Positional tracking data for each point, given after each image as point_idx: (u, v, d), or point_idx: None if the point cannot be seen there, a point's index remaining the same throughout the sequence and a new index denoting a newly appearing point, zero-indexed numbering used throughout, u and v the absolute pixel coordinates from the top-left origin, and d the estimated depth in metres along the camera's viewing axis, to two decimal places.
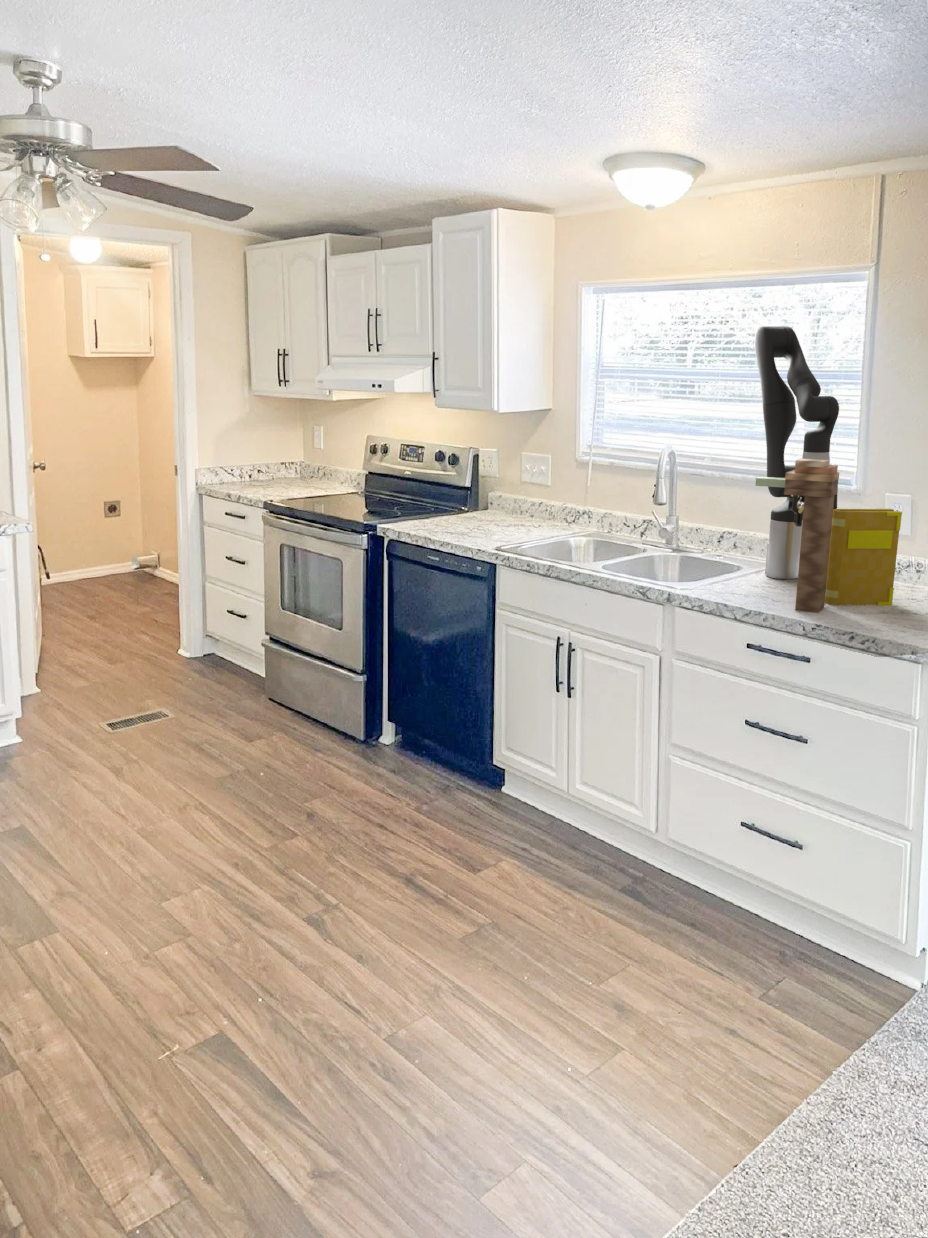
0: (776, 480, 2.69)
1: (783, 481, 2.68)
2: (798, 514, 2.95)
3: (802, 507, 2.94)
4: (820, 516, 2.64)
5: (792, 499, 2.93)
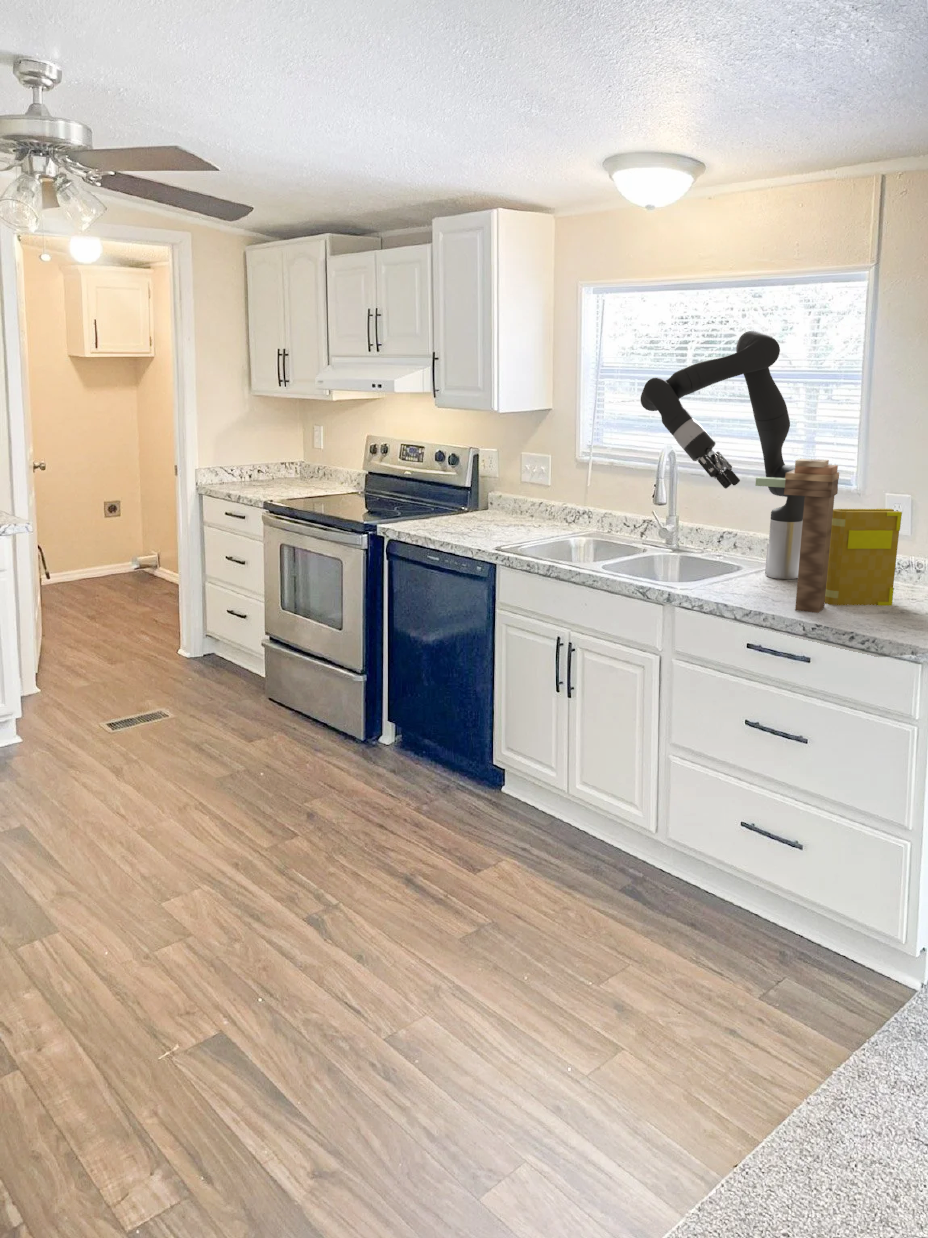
0: (776, 480, 2.69)
1: (783, 481, 2.68)
2: None
3: None
4: (820, 516, 2.64)
5: None
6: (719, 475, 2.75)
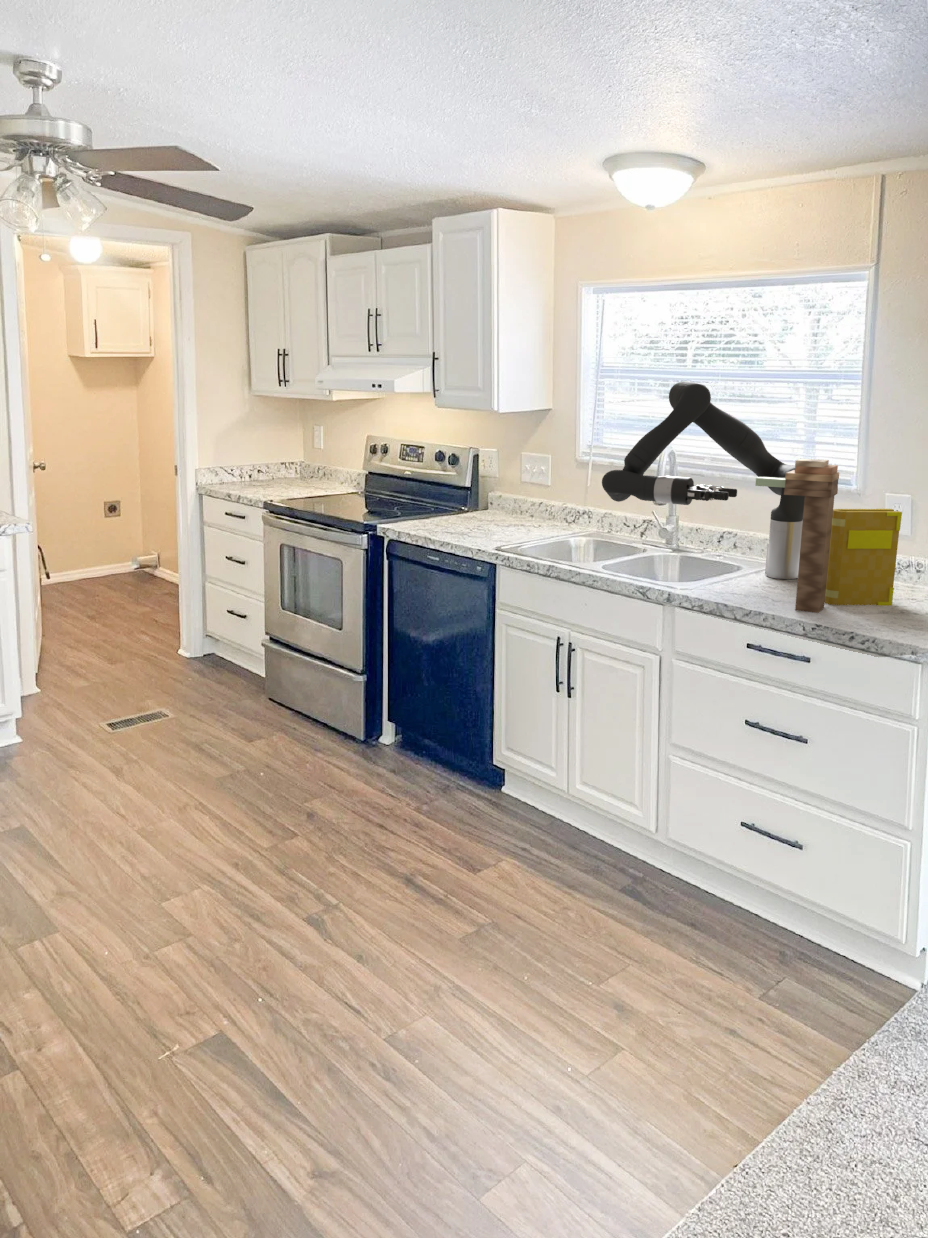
0: (776, 480, 2.69)
1: (783, 481, 2.68)
2: None
3: None
4: (820, 516, 2.64)
5: None
6: (713, 494, 2.75)
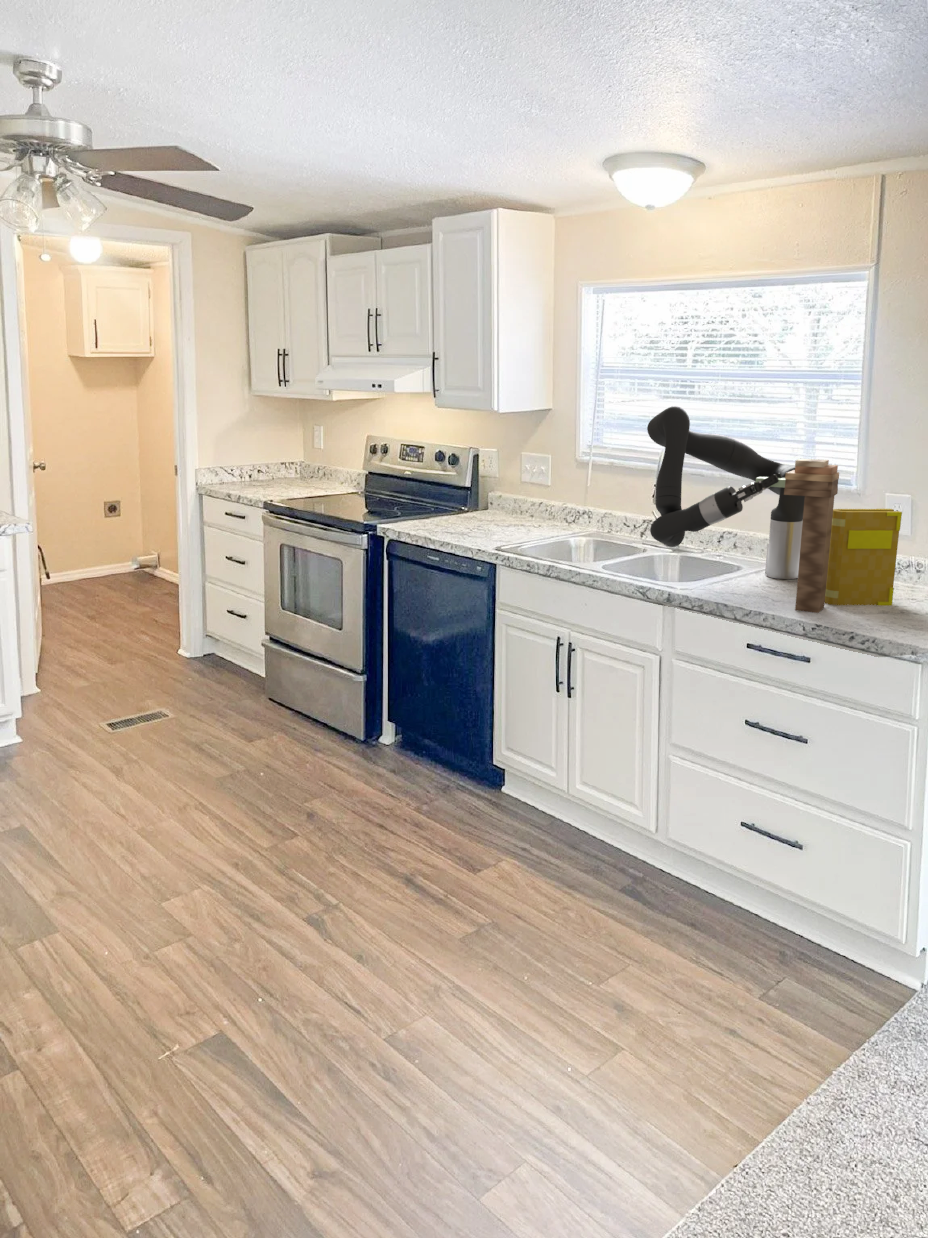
0: None
1: (783, 481, 2.68)
2: None
3: (764, 489, 2.75)
4: (820, 516, 2.64)
5: None
6: (762, 483, 2.69)
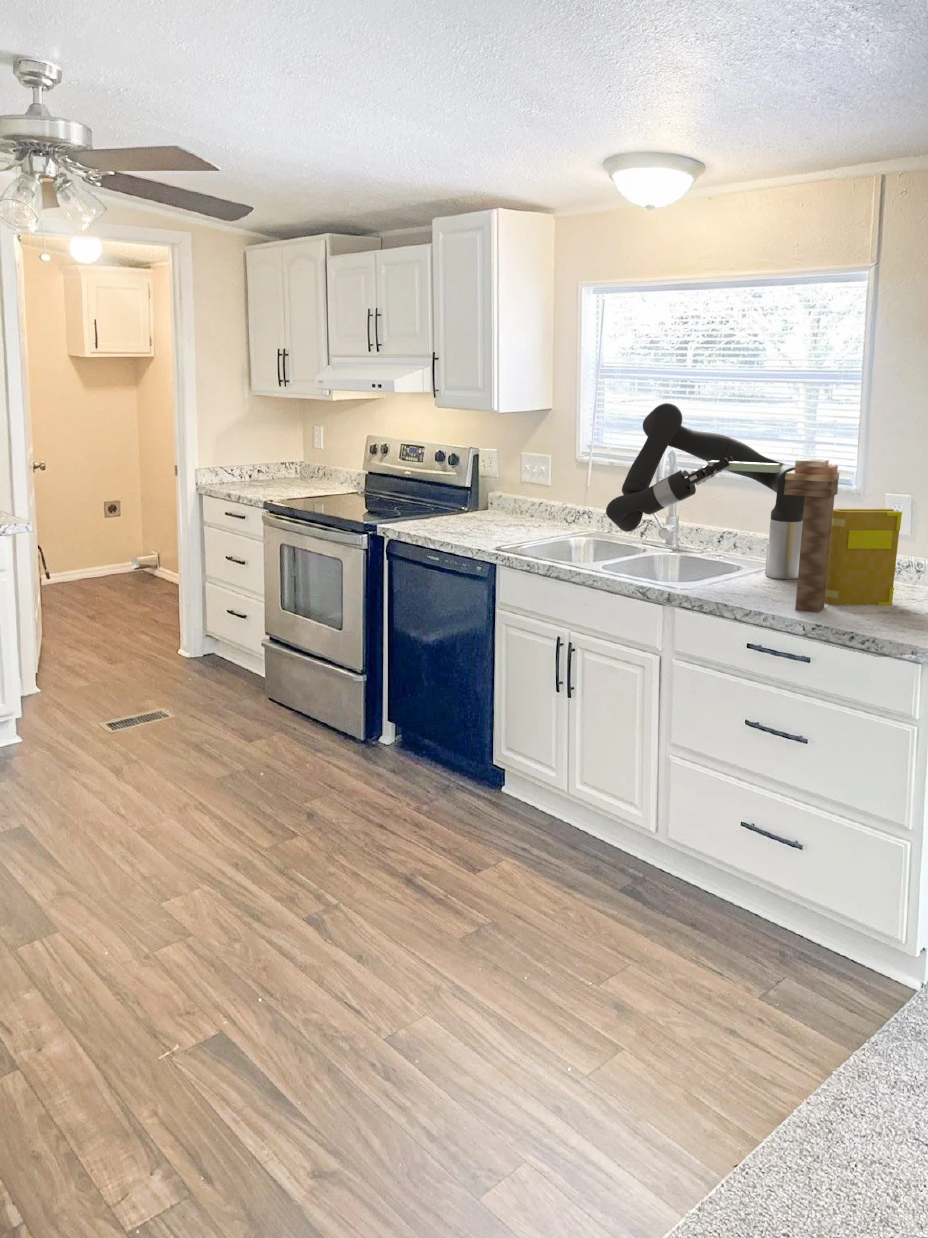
0: None
1: (734, 464, 2.73)
2: None
3: (716, 473, 2.80)
4: (820, 516, 2.64)
5: None
6: (713, 466, 2.74)
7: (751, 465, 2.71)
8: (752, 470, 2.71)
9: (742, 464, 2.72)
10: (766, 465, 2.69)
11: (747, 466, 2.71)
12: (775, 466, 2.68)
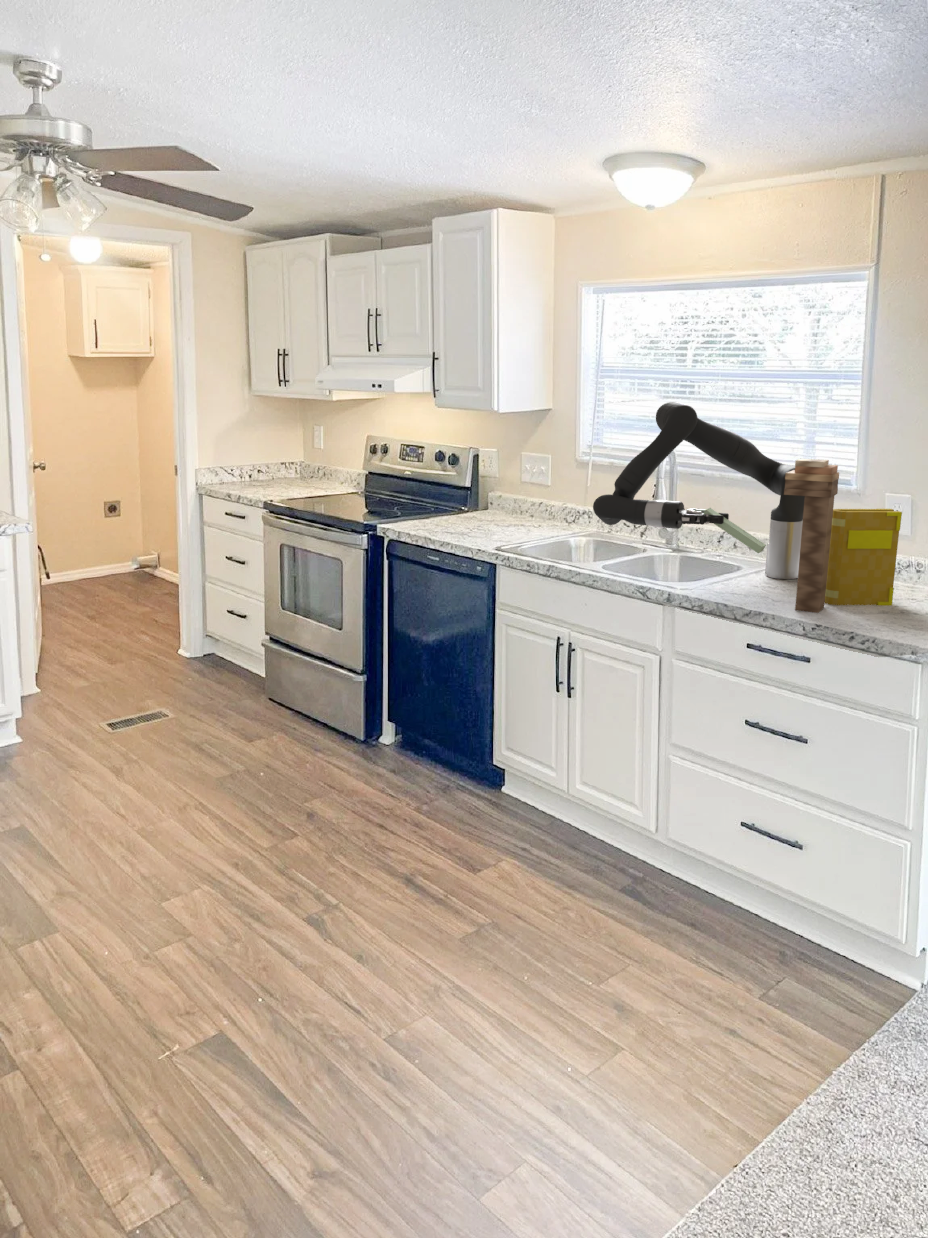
0: None
1: (727, 525, 2.77)
2: None
3: None
4: (820, 516, 2.64)
5: None
6: (708, 518, 2.78)
7: (741, 535, 2.76)
8: (739, 540, 2.76)
9: (734, 529, 2.77)
10: (753, 542, 2.75)
11: (737, 533, 2.76)
12: (760, 548, 2.74)
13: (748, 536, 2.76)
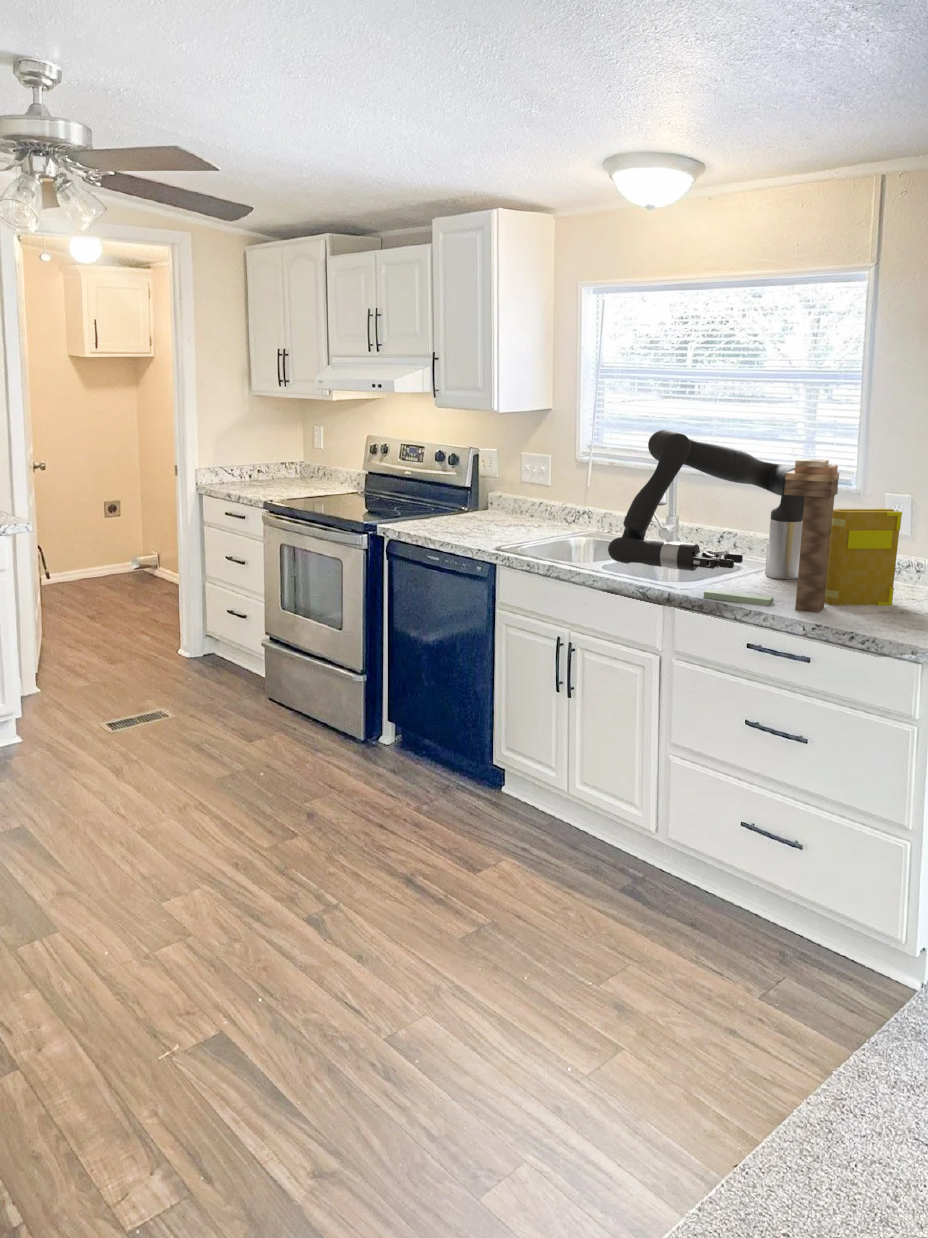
0: (722, 595, 2.83)
1: (729, 596, 2.82)
2: None
3: None
4: (820, 516, 2.64)
5: None
6: (718, 562, 2.78)
7: (745, 598, 2.80)
8: None
9: (737, 597, 2.81)
10: (759, 599, 2.78)
11: (741, 599, 2.81)
12: (768, 601, 2.77)
13: (753, 597, 2.80)
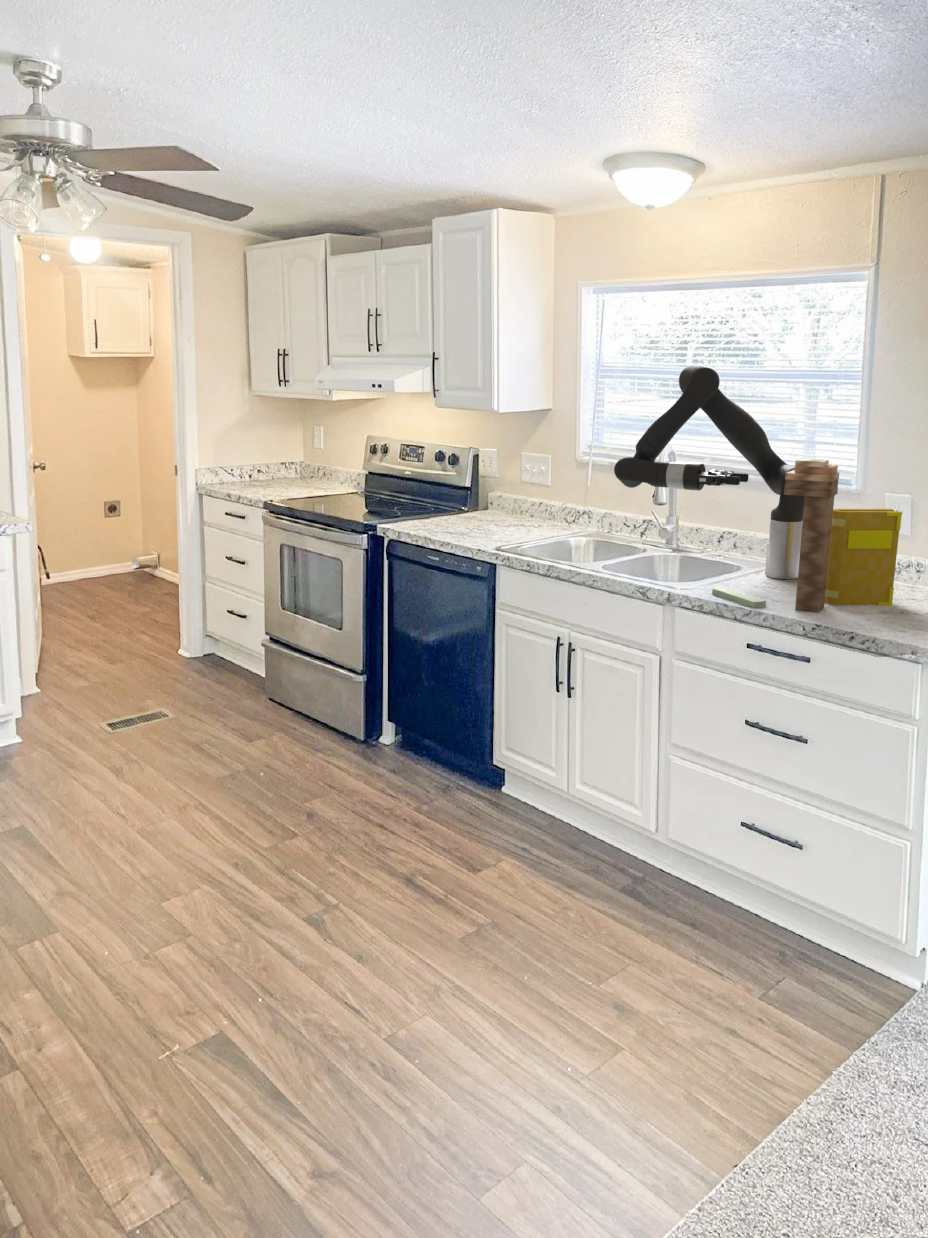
0: (724, 593, 2.85)
1: (728, 595, 2.84)
2: None
3: None
4: (820, 516, 2.64)
5: None
6: (724, 479, 2.78)
7: (738, 598, 2.80)
8: None
9: (733, 596, 2.82)
10: (747, 601, 2.76)
11: (736, 599, 2.81)
12: (753, 603, 2.74)
13: (746, 598, 2.79)
